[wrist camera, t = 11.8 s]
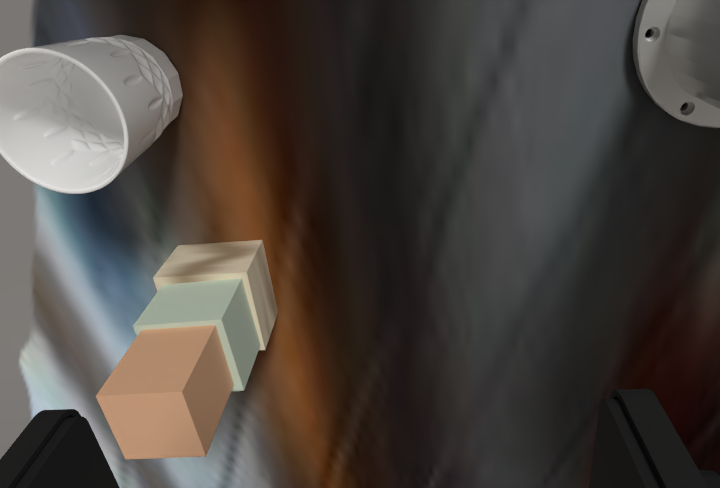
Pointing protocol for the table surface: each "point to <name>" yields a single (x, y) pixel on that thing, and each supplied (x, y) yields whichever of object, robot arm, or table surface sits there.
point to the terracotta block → (168, 393)
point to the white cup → (84, 109)
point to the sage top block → (209, 319)
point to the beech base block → (227, 275)
